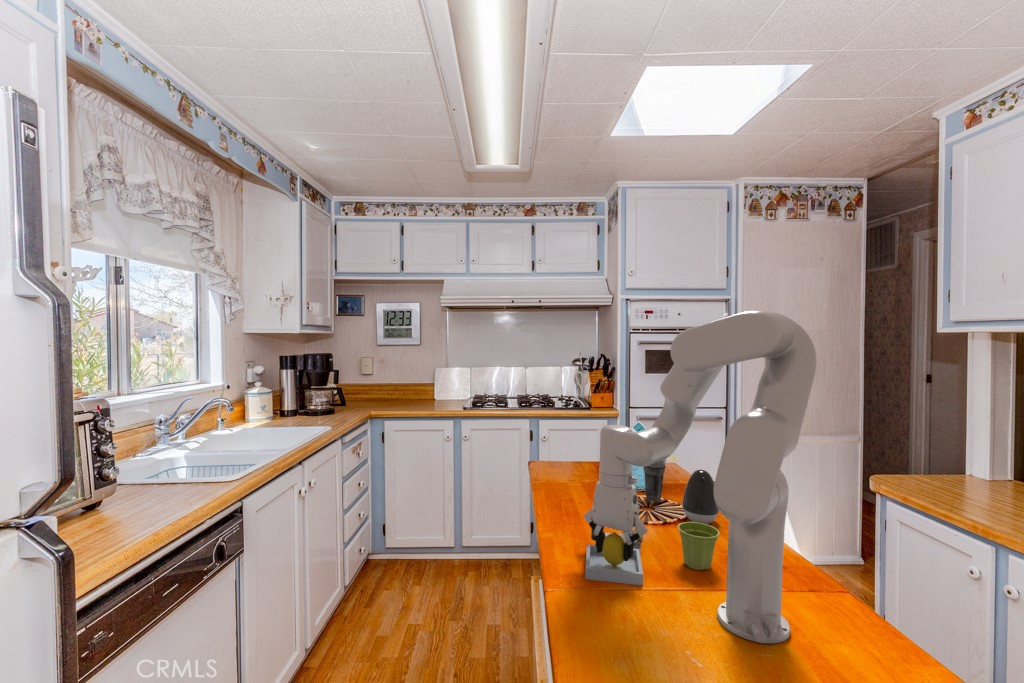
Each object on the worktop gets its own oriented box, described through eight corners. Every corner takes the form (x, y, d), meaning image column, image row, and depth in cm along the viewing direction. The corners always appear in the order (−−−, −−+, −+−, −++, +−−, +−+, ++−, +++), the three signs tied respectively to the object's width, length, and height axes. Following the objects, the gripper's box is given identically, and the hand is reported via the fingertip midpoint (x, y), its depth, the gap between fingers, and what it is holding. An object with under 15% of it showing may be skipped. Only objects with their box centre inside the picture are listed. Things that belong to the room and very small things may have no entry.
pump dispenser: (683, 525, 142) (685, 473, 142) (680, 512, 153) (681, 463, 152) (721, 529, 140) (723, 476, 140) (715, 516, 150) (717, 466, 150)
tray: (642, 585, 109) (643, 574, 109) (585, 579, 111) (585, 568, 111) (638, 559, 121) (639, 549, 121) (586, 554, 123) (587, 544, 123)
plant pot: (681, 552, 125) (682, 518, 125) (721, 562, 120) (722, 526, 120) (672, 567, 117) (673, 531, 117) (715, 578, 112) (716, 540, 112)
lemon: (599, 569, 115) (599, 534, 115) (606, 559, 120) (606, 526, 120) (623, 574, 112) (622, 538, 112) (629, 564, 117) (629, 530, 117)
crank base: (646, 557, 122) (646, 537, 122) (616, 554, 123) (617, 535, 123) (642, 538, 133) (643, 519, 133) (615, 535, 135) (615, 517, 135)
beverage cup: (641, 502, 161) (643, 441, 160) (642, 495, 168) (643, 436, 167) (664, 505, 159) (666, 443, 158) (664, 497, 166) (666, 438, 165)
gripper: (657, 482, 113) (655, 559, 114) (589, 468, 123) (587, 539, 124) (645, 490, 107) (643, 572, 108) (575, 475, 117) (573, 550, 118)
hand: (613, 554), depth 116 cm, fingers open, 6 cm apart
